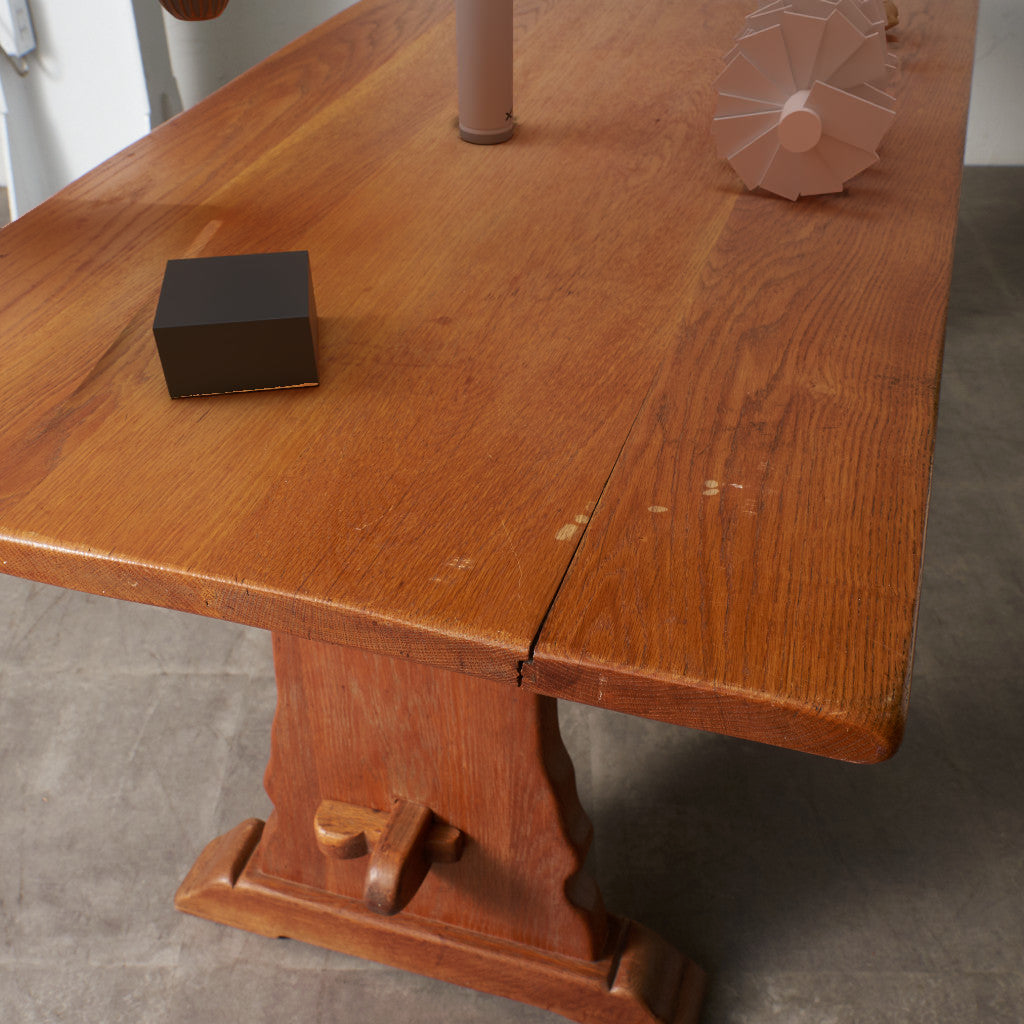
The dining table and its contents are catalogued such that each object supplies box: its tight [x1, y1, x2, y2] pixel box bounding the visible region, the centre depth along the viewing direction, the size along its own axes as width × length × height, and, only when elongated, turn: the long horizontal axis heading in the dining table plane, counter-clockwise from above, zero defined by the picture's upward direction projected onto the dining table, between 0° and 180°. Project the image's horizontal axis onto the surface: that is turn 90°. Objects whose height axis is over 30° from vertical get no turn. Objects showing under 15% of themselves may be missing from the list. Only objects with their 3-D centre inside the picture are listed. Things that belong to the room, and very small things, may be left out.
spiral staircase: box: [709, 0, 898, 202], centre depth 105 cm, size 18×18×25 cm
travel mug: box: [454, 0, 514, 145], centre depth 111 cm, size 6×7×20 cm
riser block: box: [151, 249, 320, 399], centre depth 78 cm, size 11×11×6 cm
